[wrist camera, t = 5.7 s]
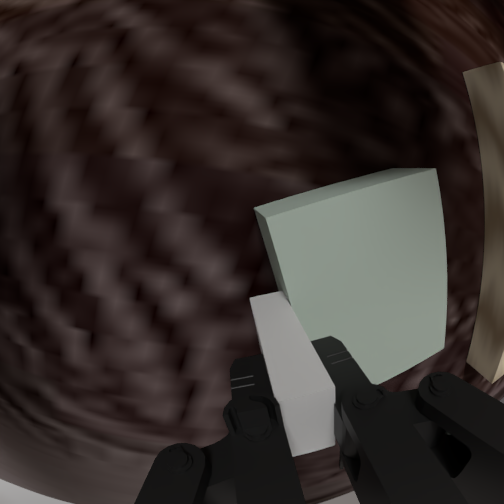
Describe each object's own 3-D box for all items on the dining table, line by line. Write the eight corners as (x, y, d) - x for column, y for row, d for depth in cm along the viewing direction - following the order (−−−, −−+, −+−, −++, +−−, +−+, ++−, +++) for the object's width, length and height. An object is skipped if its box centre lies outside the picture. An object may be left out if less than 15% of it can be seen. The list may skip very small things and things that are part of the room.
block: (252, 207, 14) (265, 217, 10) (389, 168, 14) (435, 168, 10) (300, 365, 16) (318, 409, 13) (409, 319, 17) (443, 348, 13)
